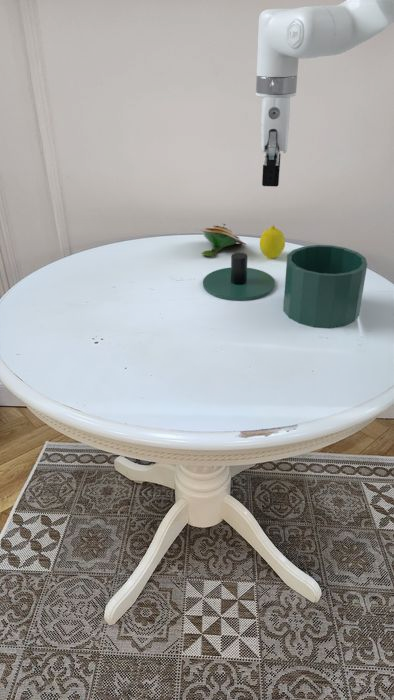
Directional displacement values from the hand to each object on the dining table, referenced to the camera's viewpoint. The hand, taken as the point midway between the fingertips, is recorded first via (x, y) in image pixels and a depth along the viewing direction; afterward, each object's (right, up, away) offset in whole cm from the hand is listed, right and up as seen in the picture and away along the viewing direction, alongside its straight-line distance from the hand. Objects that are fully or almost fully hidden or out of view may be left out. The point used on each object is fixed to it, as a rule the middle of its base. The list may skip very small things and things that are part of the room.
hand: (271, 179), depth 109 cm
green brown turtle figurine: (-10, -12, +16) cm, 22 cm away
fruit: (+2, -15, +11) cm, 19 cm away
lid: (-7, -22, -1) cm, 23 cm away
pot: (+8, -28, -10) cm, 31 cm away
